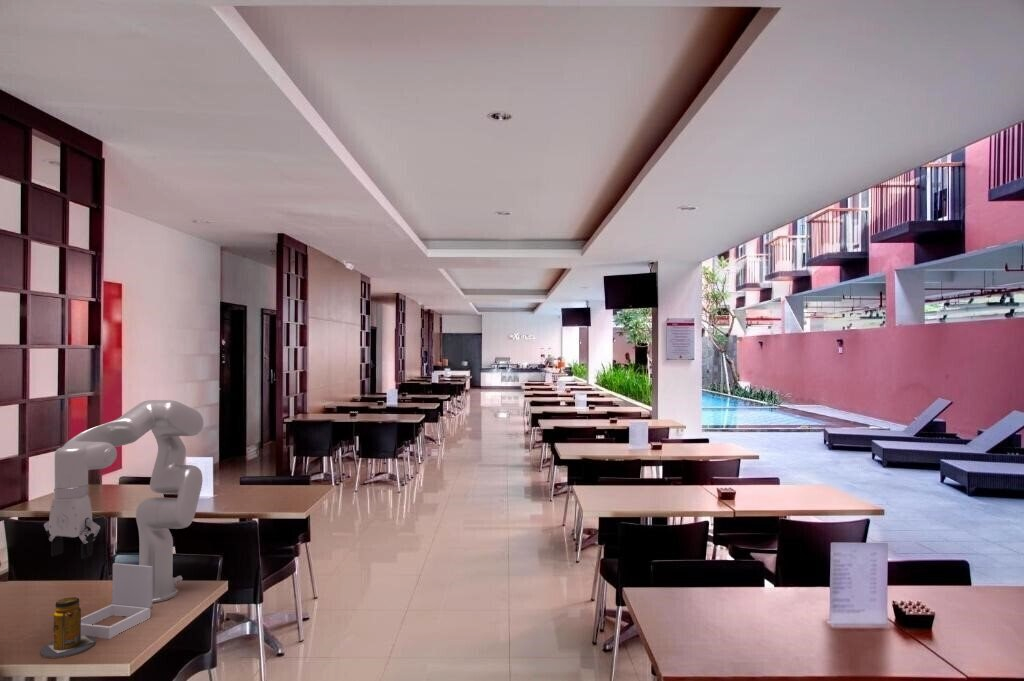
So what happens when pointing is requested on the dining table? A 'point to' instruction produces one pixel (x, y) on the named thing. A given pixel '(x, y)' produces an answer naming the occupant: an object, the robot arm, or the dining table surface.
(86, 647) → the mat
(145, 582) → the case
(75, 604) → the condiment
